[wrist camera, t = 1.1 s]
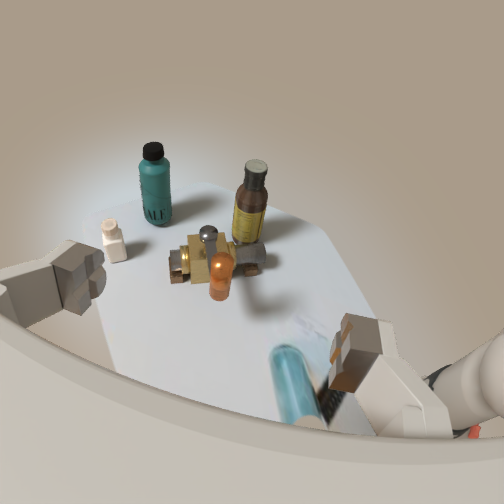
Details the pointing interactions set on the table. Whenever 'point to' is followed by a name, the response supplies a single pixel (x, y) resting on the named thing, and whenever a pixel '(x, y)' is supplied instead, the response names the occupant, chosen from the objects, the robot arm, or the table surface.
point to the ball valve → (195, 260)
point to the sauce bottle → (250, 204)
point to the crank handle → (217, 264)
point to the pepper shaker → (113, 241)
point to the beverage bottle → (155, 184)
